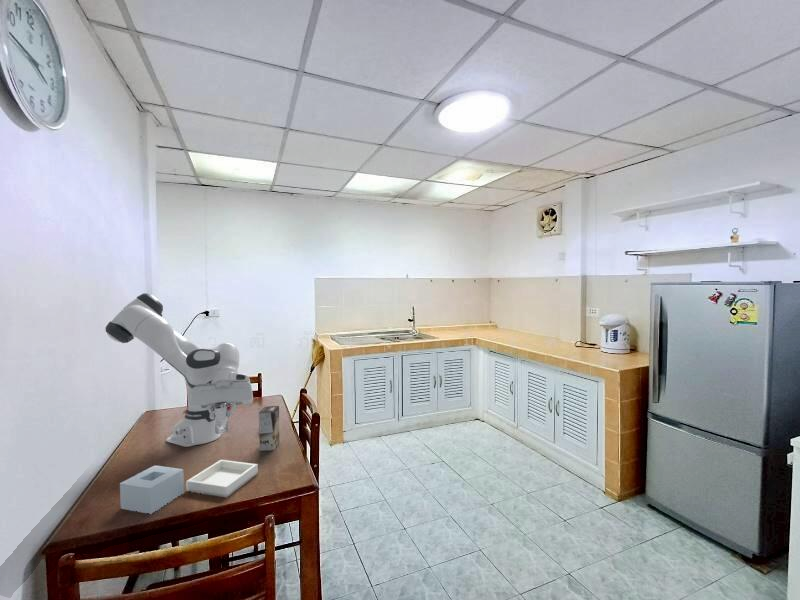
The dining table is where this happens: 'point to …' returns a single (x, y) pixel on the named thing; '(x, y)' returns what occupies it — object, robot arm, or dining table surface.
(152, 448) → the dining table surface
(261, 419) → the coffee box
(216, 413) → the steel pin
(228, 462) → the tray
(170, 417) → the dining table surface
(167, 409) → the dining table surface
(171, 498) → the socket block
